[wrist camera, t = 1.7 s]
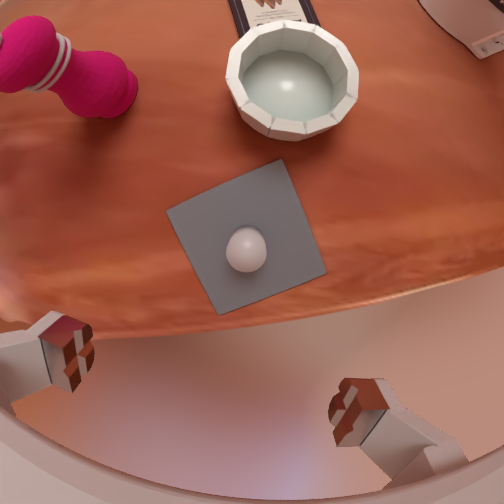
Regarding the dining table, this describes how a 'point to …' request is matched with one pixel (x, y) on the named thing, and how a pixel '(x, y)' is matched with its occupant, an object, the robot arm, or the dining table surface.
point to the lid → (248, 238)
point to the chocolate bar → (270, 12)
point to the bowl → (291, 79)
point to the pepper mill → (64, 70)
